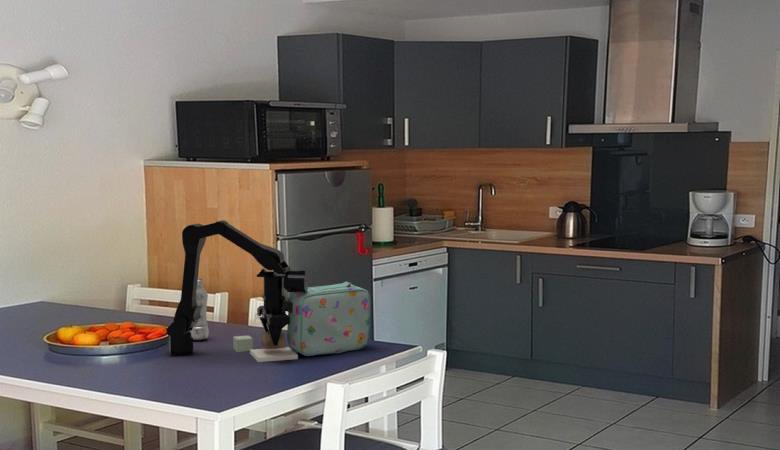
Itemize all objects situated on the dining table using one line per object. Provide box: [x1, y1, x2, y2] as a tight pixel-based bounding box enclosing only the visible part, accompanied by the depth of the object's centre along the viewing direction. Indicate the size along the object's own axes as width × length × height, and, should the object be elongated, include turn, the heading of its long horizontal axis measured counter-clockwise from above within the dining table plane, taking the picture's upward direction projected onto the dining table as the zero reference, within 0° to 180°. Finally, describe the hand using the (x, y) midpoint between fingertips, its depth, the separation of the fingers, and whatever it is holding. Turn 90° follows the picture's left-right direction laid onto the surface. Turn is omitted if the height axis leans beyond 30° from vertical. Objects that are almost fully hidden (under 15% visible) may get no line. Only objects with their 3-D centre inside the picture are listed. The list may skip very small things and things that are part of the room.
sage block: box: [232, 335, 254, 353], centre depth 287 cm, size 5×5×4 cm
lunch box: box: [286, 281, 372, 357], centre depth 284 cm, size 27×10×21 cm, turn 126°
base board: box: [249, 346, 299, 363], centre depth 278 cm, size 12×12×1 cm
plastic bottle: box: [190, 278, 210, 341], centre depth 300 cm, size 6×7×20 cm
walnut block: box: [261, 331, 286, 349], centre depth 278 cm, size 6×6×4 cm
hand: (273, 343), depth 278 cm, fingers closed on walnut block, 6 cm apart
